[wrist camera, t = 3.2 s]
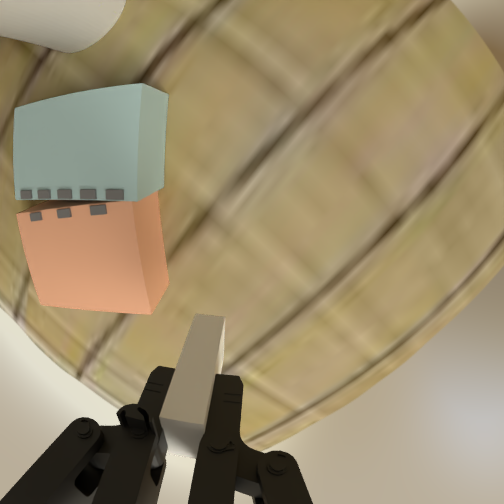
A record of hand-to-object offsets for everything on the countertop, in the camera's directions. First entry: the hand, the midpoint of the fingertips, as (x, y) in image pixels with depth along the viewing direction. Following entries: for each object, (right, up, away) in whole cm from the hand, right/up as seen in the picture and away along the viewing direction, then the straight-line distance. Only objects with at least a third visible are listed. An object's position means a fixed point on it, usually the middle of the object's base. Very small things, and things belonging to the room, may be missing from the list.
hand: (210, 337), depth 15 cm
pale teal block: (-10, +13, +5) cm, 17 cm away
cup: (-12, +25, 0) cm, 28 cm away
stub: (-10, +6, +8) cm, 14 cm away
